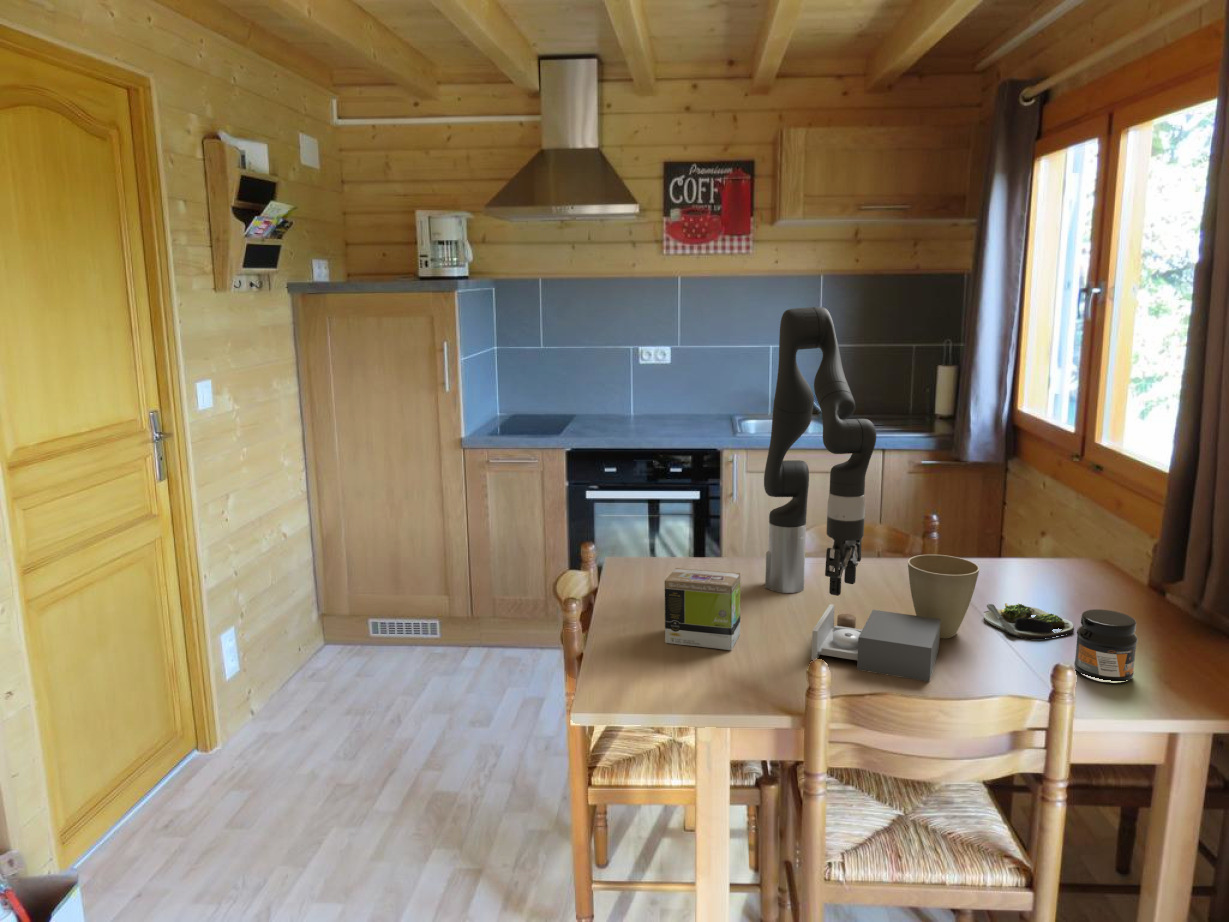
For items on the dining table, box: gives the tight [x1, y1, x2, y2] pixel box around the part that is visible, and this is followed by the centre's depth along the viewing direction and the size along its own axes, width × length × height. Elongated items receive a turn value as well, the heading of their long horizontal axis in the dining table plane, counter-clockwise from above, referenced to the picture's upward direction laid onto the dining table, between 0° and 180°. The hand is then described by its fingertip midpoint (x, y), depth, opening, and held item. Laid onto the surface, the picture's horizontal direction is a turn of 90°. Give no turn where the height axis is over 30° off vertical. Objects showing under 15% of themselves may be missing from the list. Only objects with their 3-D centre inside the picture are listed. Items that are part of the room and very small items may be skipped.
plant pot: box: [907, 554, 980, 639], centre depth 202 cm, size 15×15×16 cm
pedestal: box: [836, 613, 857, 629], centre depth 204 cm, size 4×4×4 cm
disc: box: [833, 629, 861, 649], centre depth 193 cm, size 6×6×2 cm
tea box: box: [664, 567, 741, 651], centre depth 199 cm, size 15×10×15 cm, turn 71°
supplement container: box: [1073, 608, 1138, 681], centre depth 180 cm, size 10×10×12 cm
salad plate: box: [984, 603, 1075, 640], centre depth 208 cm, size 19×18×5 cm
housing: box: [856, 609, 941, 682], centre depth 188 cm, size 14×17×7 cm
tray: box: [811, 603, 863, 661], centre depth 192 cm, size 14×17×6 cm
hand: (842, 588), depth 192 cm, fingers open, 8 cm apart
